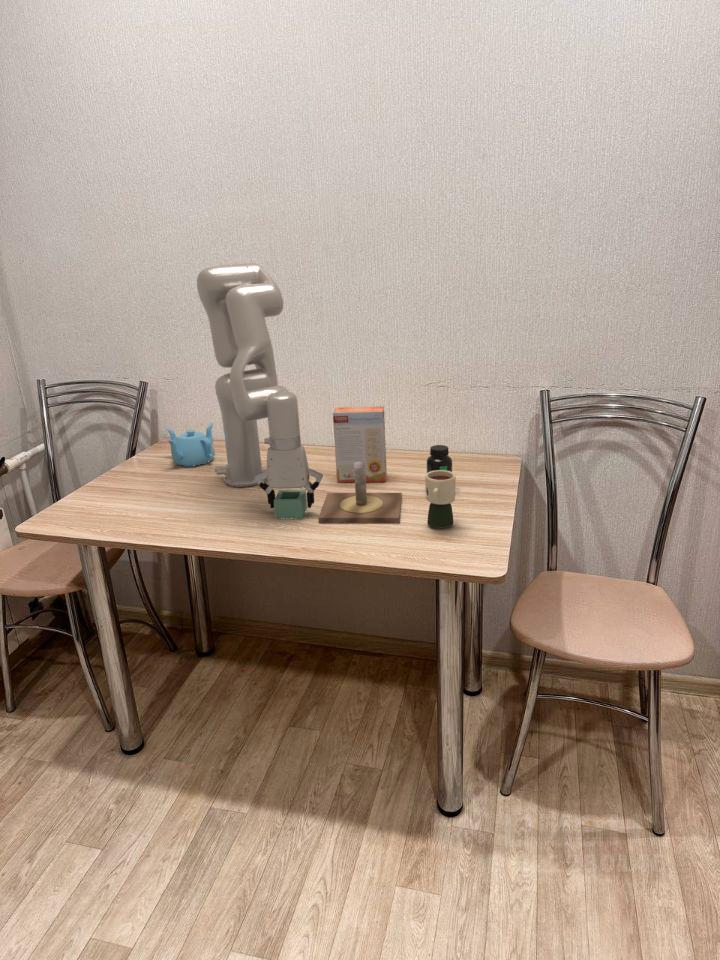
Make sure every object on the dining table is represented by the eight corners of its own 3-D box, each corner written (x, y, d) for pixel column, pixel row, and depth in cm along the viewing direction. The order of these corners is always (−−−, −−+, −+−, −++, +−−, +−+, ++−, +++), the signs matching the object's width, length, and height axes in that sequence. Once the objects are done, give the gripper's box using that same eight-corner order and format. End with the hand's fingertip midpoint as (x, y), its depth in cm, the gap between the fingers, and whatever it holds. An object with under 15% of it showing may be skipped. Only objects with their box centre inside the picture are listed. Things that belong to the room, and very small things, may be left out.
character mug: (432, 514, 174) (431, 466, 169) (459, 517, 171) (460, 468, 166) (420, 532, 164) (419, 481, 159) (449, 536, 162) (449, 484, 157)
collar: (275, 518, 175) (273, 500, 173) (280, 507, 182) (279, 490, 180) (302, 518, 174) (301, 500, 173) (307, 507, 181) (305, 490, 179)
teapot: (217, 466, 214) (214, 434, 211) (168, 471, 212) (163, 439, 208) (217, 452, 228) (213, 422, 224) (170, 456, 225) (165, 426, 221)
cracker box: (387, 475, 201) (384, 405, 193) (385, 482, 195) (383, 411, 188) (339, 475, 202) (335, 406, 195) (336, 483, 197) (332, 412, 189)
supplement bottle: (449, 495, 185) (449, 452, 181) (424, 492, 187) (423, 450, 183) (454, 485, 191) (454, 444, 187) (430, 483, 193) (429, 442, 189)
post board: (318, 523, 172) (315, 475, 167) (327, 498, 187) (324, 453, 182) (399, 523, 170) (398, 474, 165) (401, 497, 184) (400, 452, 180)
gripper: (247, 447, 168) (255, 512, 174) (317, 446, 167) (322, 511, 173) (255, 438, 175) (261, 501, 181) (322, 437, 174) (327, 500, 180)
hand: (291, 506), depth 177 cm, fingers open, 9 cm apart
